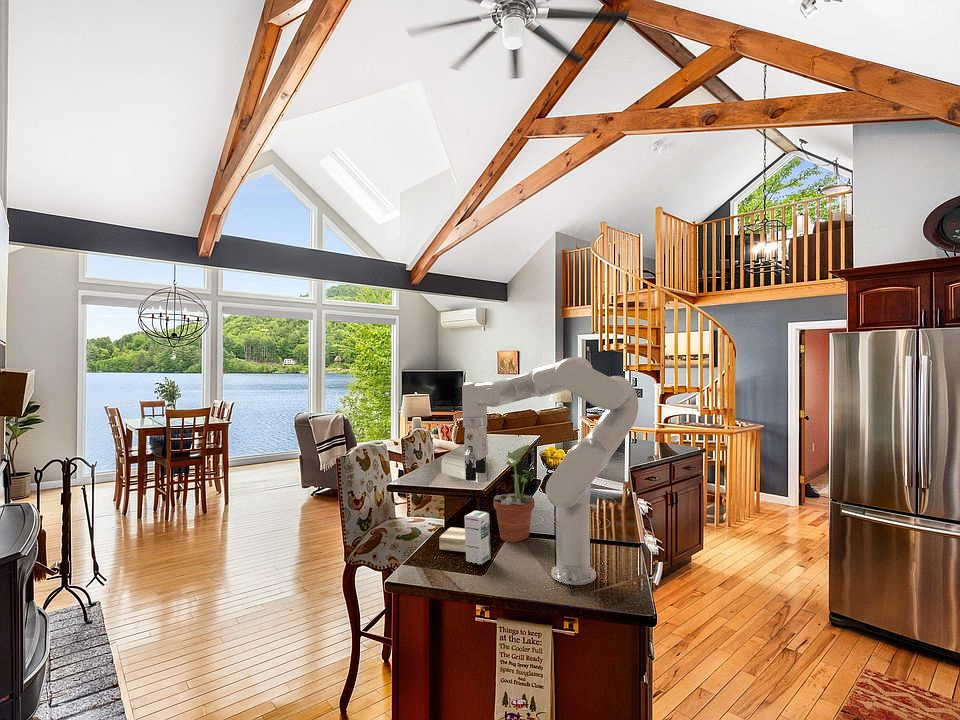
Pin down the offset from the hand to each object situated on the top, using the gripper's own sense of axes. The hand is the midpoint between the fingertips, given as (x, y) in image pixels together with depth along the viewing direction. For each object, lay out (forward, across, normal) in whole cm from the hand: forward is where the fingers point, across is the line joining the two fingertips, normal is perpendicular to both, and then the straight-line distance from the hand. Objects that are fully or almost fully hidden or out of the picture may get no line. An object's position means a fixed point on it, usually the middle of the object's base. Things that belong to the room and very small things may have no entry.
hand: (476, 476), depth 162 cm
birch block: (+26, +10, +10) cm, 30 cm away
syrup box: (+26, 0, 0) cm, 26 cm away
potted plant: (+26, +23, -6) cm, 35 cm away
